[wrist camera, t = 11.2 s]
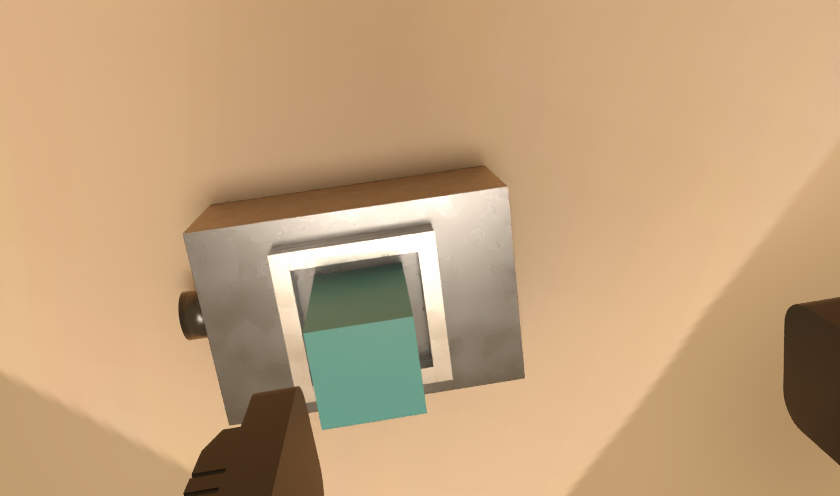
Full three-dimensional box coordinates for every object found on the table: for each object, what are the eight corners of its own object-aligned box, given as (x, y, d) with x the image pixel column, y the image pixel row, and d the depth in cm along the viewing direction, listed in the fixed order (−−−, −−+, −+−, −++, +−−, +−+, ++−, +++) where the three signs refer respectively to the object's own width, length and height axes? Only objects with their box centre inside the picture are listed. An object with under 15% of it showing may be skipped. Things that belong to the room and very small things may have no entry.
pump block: (401, 262, 37) (413, 316, 30) (413, 342, 39) (426, 413, 31) (314, 275, 37) (303, 333, 30) (328, 355, 39) (322, 429, 31)
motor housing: (484, 165, 43) (513, 192, 35) (500, 331, 47) (531, 390, 39) (178, 209, 42) (136, 247, 34) (219, 375, 46) (189, 445, 38)
